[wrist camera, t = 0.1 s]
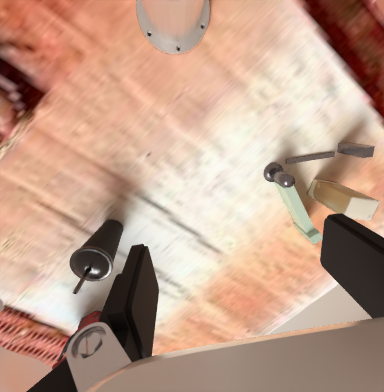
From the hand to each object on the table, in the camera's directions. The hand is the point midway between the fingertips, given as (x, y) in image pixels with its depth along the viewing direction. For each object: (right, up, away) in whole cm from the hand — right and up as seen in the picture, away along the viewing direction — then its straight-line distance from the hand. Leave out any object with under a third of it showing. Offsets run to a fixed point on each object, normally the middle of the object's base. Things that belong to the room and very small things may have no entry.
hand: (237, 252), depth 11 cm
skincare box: (+29, +5, +40) cm, 50 cm away
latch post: (+26, +13, +36) cm, 46 cm away
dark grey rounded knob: (+17, +8, +37) cm, 42 cm away
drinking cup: (-22, -5, +40) cm, 46 cm away
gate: (+22, +1, +40) cm, 45 cm away
